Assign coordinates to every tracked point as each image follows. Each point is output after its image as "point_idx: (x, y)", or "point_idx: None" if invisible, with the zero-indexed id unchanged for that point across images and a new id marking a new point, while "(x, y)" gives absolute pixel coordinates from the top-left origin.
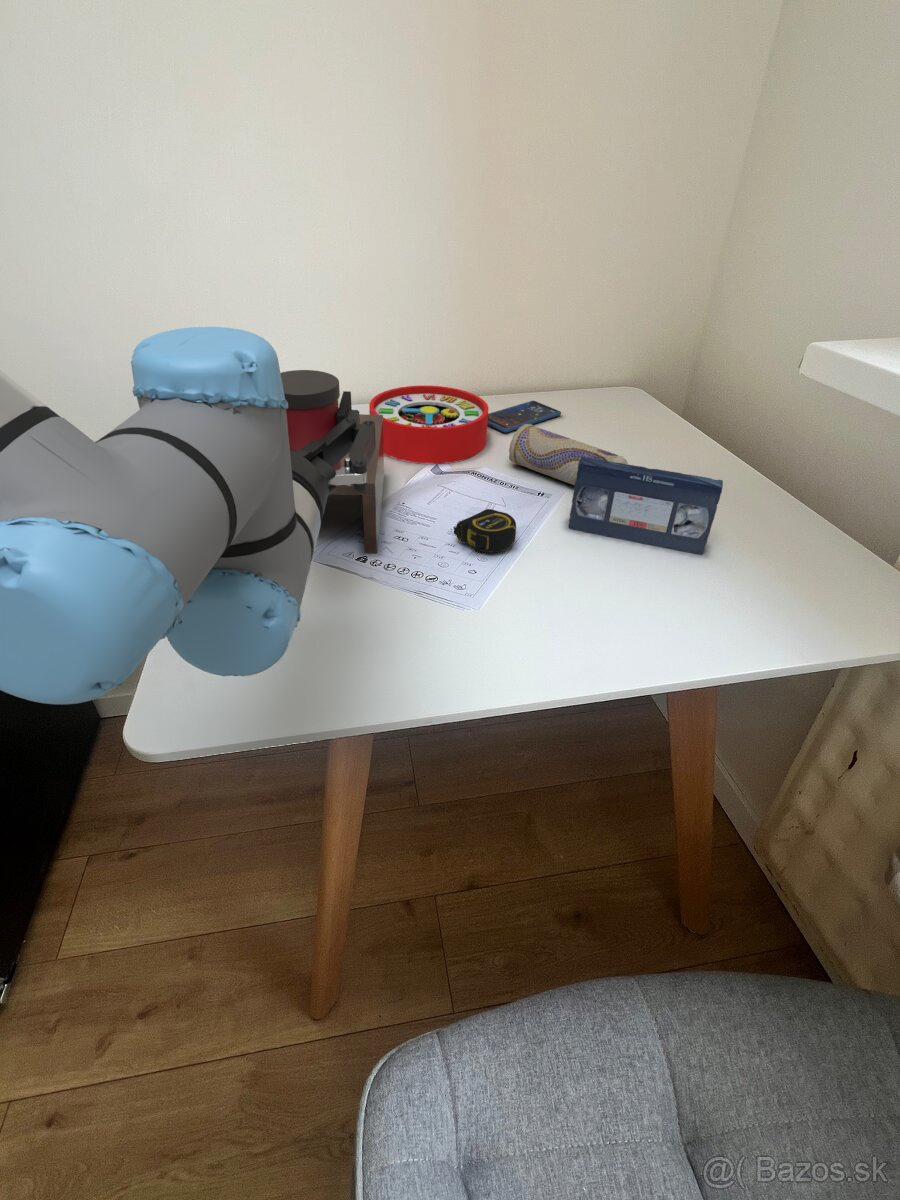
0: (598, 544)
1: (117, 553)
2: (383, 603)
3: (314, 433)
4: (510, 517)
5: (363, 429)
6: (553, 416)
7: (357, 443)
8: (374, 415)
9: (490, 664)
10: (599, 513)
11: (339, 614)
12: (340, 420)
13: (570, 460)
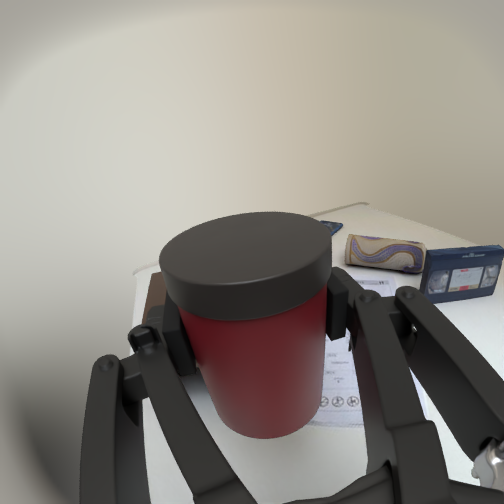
0: (447, 311)
1: None
2: (343, 451)
3: (302, 352)
4: None
5: (425, 315)
6: (340, 227)
7: (470, 368)
8: None
9: (468, 466)
10: (440, 287)
11: (306, 482)
12: (339, 301)
13: (395, 253)
